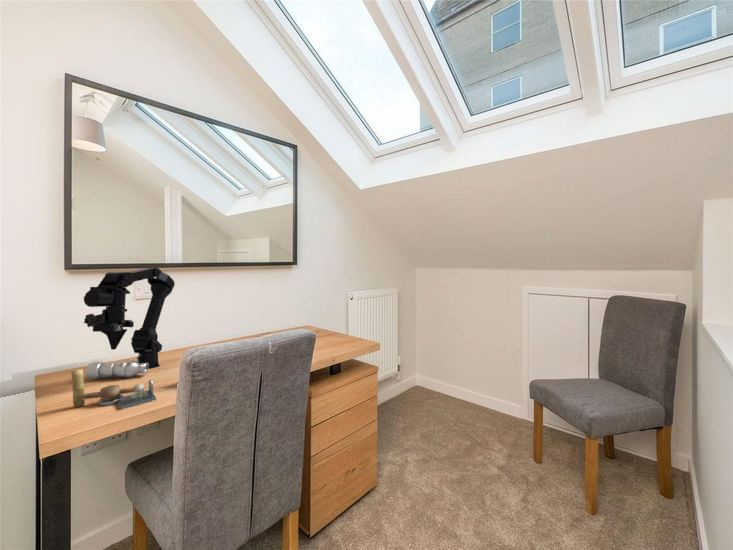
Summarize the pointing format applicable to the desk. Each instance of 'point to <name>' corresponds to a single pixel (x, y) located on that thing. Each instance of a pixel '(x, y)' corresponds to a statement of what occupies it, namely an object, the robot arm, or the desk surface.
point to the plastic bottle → (115, 369)
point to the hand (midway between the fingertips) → (113, 349)
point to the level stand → (131, 398)
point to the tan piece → (104, 393)
